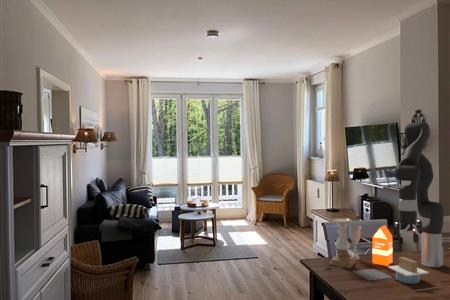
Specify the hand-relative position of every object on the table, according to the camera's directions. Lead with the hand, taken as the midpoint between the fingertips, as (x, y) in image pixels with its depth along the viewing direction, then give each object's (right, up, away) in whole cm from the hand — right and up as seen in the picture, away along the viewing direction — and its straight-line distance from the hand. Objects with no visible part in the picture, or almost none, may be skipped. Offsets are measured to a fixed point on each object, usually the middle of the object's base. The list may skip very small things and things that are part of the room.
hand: (408, 243), depth 169 cm
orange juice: (-1, -17, +25) cm, 31 cm away
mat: (-14, -17, +8) cm, 23 cm away
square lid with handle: (0, -12, 0) cm, 12 cm away
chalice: (-13, -17, +33) cm, 39 cm away
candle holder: (-23, -18, +24) cm, 37 cm away
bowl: (0, -17, 0) cm, 17 cm away
